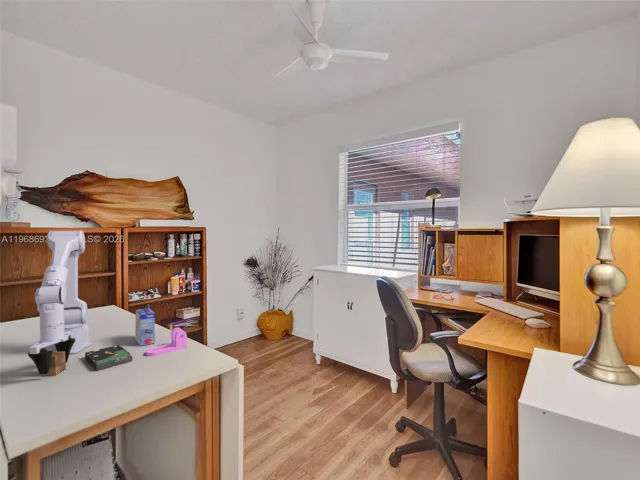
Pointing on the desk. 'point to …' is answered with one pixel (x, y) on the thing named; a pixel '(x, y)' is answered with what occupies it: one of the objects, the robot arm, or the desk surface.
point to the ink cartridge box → (145, 326)
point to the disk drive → (108, 357)
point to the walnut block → (56, 364)
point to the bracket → (177, 344)
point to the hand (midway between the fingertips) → (53, 367)
